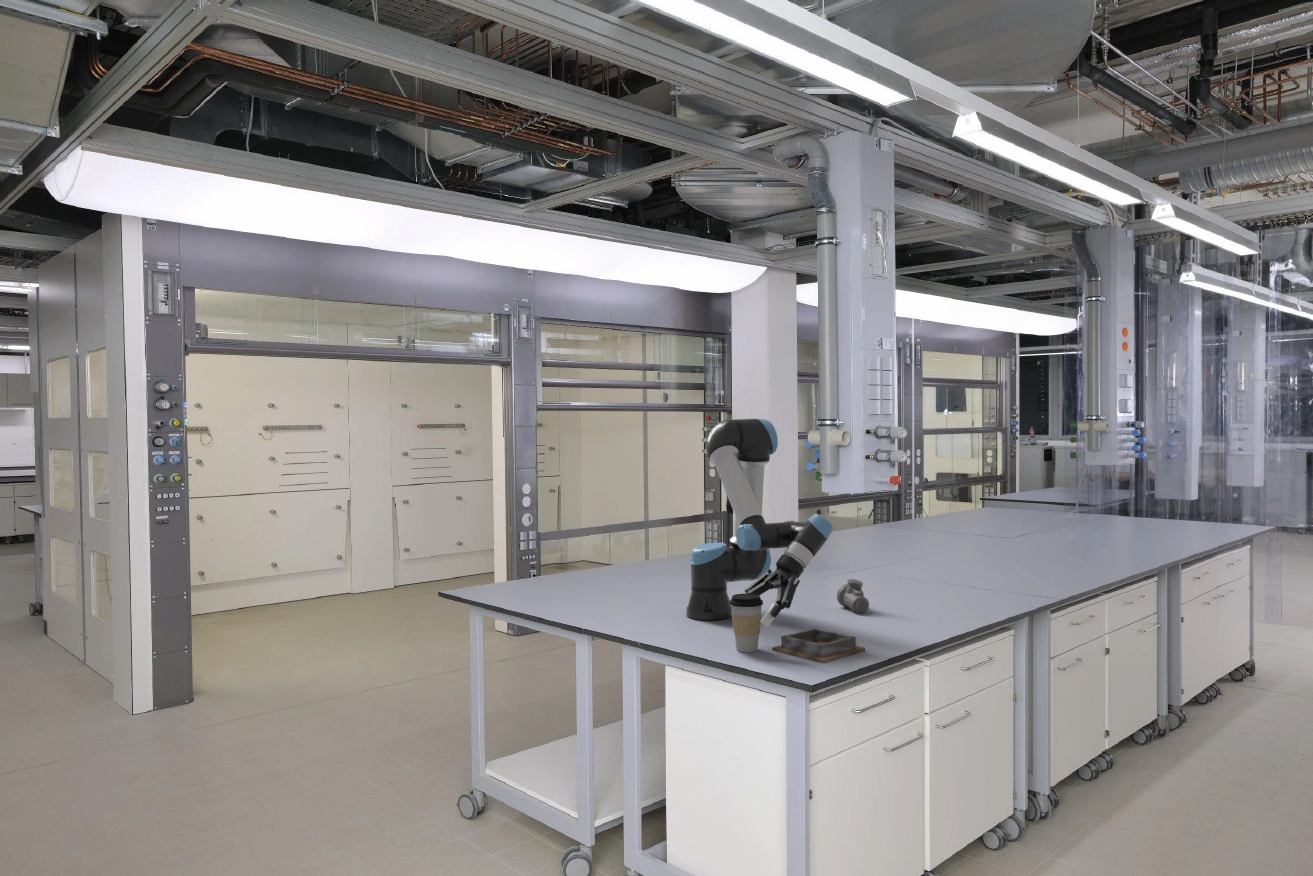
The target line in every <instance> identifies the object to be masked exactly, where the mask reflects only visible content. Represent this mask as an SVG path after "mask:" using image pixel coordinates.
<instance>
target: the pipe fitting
mask: <svg viewBox="0 0 1313 876" xmlns="http://www.w3.org/2000/svg"><path fill="white" fill-rule="evenodd" d="M863 583H864V582H863V581H861V580H859V579H853V578H850V579H847V583H846V584H843V585H841V586H840V587H839V588H838V590H837V593H836V600H837V602H838V604H839V605H840V606H842V607H843V608H846V609H849V610H850V609H851V610H852V611H853V612H854V613H855V614H858V615H863V614H865V613H866V612H867V611H868V610H869V607H870V601H869V599H868V598H866V597H865V596H864V595H865V594H864V591H863V590H862V587H863Z"/></svg>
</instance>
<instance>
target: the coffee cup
mask: <svg viewBox="0 0 1313 876" xmlns="http://www.w3.org/2000/svg"><path fill="white" fill-rule="evenodd" d="M729 601H730V603H729V604H730V605H731V607H732V617H731V619H732V628H733V633H734V641H735V648H736V651H738V652H740V653H747V654H748V653H754V652H758V651H759V650H758V648H759V642H760V641H759V639H760V633H761V624H762V623H761V622H760V621H761V619H762V606H763V605H764V602H763V601H764V600H763V599H762V598H761V595H756V594H746V593H735V594H733V595H732V596H731V599H729Z"/></svg>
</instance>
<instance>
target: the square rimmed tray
mask: <svg viewBox="0 0 1313 876" xmlns="http://www.w3.org/2000/svg"><path fill="white" fill-rule="evenodd" d="M780 637H781V641H780V642H781V644H779V645H775V646H772V647H771V648H772V649H771V650H772V651H774V652H775V651H776V652H779V653H782V654H787V655H791V656H794V657H799V658H803V659H806V660H811V661H814V662H819V663H823V664H825V663H828V662H831V661H835V660H838V659H841V658H845V657H848V656H851V655H855V654H859V653H862V652H864V651H866V647H864V646H859V645H857V643H856V641H857V638H856V636H854V635H849V634H845V633H839V632H835V631H831V630H825V629H822V628H817V627H812V628H809V629H806V630H801V631H797V632H793V633H789V634H786V635H781V636H780Z"/></svg>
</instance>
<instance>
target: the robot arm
mask: <svg viewBox="0 0 1313 876" xmlns="http://www.w3.org/2000/svg"><path fill="white" fill-rule="evenodd" d="M778 445H779V440H778V434H777V430H776V428H775V426H774V424H773V423H772V422H771V421H770V420H768V419H764V418H763V419H762V418H739V419H738V418H737V419H736V418H735V419H731V418H730V419H728V418H726V419H723V420H721V421H719V422H717V423H716V424H715V425H714V426H713V427H712V428H711V429H710V432H709V434H708V435H707V438H706V454H707V457H708V459H709V462H710V464H711V465H713V466H715V468H716V471H717V473H718V476H719V479H720V481H721V483H722V486H723V488H724V491H725V493H726V496H727V498H728V500H729V503H730V505H731V508H732V511H733V512H734V515H735V525H734V535H733V536H732V537H730V538H729V546H727V544H726V543H725V542H707V543H701V544H699V545H697V546H695V547H693V548H692V550H691V551H690V552H691V553H690V554H691V555H690V575H691V576H690V577H691V579H690V580H691V581H690V583H691V585H690V586H691V592H690V593H691V594H690V597H689V600H688V605H687V606H686V608H685V609H686V611H685V613H686V617H687V618H689V619H693V620H699V621H722V620H726V619H730V618H732V606H731V605H730V604H729V603H730V598H729V594H728V586H727V585H728V584H727V583H731V582H743V581H751V582H752V581H753V582H752V583H751V584H750V585H748V586H747V587H746V588H744V592H745V594H756V595H759V596H761V595H763V594H764V593H765V592H768V591H769V590H773V589H776V590H777V593H776V594H777V595H776V600H775V601H774V602H773V603H772V605H770V607H769V608H768V610H767V611H766V612H765V614H764V615H763V616H762V617H761V621H760V622H761V624H762V625H763V626H764V628H766V629H768V628H769V627H770V626H771V624H772V623H773V622H774V620H775V619H776V618H777V616H778V615H780V613H781V611H782V610H784V609H785V608H786V609H788V610H789V609H790V608H791V605H792V603H793V599H794V596H795V593H796V590H797V588H798V586H799V584H800V582H801V580H800V579H799V578H800V577H801V575H802V574H803V573H804V571H805V570H804V569H807V567H808V566H809V564H810V562H811V561H812V560H813V559H814V557H815V556H816V555H817V554H818V552H819V551H820V550H821V548H822V547H823V546H824V544H825V543H826V541H827V540H828V539H829V538H830V536H831V534H832V533H833V532H834V527H833V525H832V523H831V522H830V521H829V520H828V518H826V517H825V516H822V515H821V514H818V513H814V514H812V515H811V516H810V517H809V518H808V519H807V521H802V522H801V521H794V520H787V521H783V522H772V523H771V522H766V521H765V518H764V515H763V514H762V513H763V496H764V484H765V483H764V481H765V478H764V477H765V465H767V464H768V463H769V462H770V458H771V455H773V454H775V452H777V449H778ZM770 549H785V550H784V552H783V554H781V556H780V557H779V558H778V560H777V561H776V562H775V566H776V569H775V570H772V569H771V564H772V555H771V554H770V553H771V551H770Z"/></svg>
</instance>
